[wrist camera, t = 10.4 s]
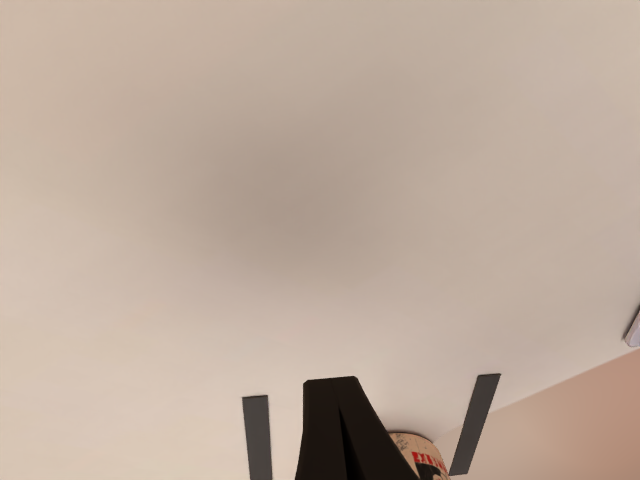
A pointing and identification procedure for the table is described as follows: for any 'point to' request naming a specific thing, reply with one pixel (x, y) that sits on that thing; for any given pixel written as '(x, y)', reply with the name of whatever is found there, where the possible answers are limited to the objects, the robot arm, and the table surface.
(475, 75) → the table surface
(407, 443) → the teacup with lid
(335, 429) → the robot arm
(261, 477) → the tape marks
